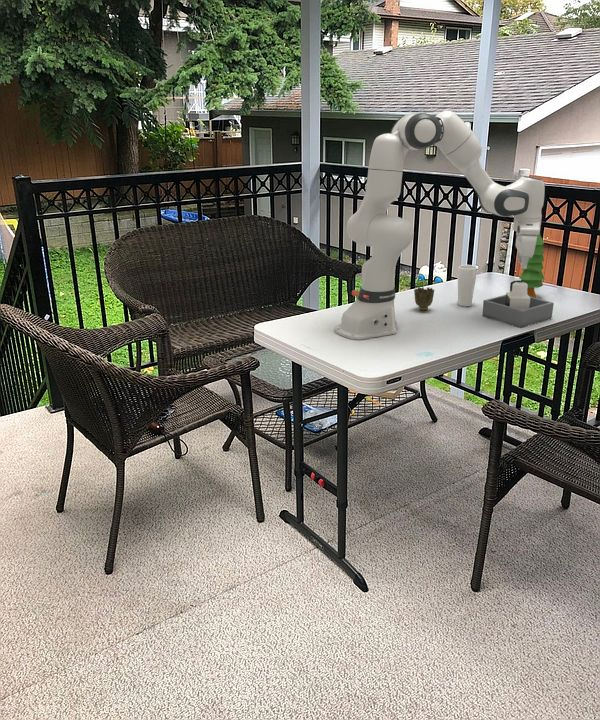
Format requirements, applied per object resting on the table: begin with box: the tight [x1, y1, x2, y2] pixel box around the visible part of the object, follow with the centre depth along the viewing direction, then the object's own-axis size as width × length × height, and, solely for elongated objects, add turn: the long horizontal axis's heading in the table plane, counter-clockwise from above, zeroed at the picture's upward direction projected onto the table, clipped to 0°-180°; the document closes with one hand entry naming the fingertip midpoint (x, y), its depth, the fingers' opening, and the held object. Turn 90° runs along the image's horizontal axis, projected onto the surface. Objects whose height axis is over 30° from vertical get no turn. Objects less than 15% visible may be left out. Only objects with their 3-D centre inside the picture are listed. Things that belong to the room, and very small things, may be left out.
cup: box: [413, 286, 435, 312], centre depth 238 cm, size 8×7×8 cm
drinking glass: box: [457, 264, 478, 307], centre depth 242 cm, size 7×7×15 cm
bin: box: [481, 294, 555, 329], centre depth 228 cm, size 17×17×6 cm
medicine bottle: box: [505, 279, 530, 310], centre depth 227 cm, size 7×7×12 cm
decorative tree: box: [518, 233, 546, 298], centre depth 247 cm, size 10×9×30 cm
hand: (522, 265), depth 221 cm, fingers open, 8 cm apart
